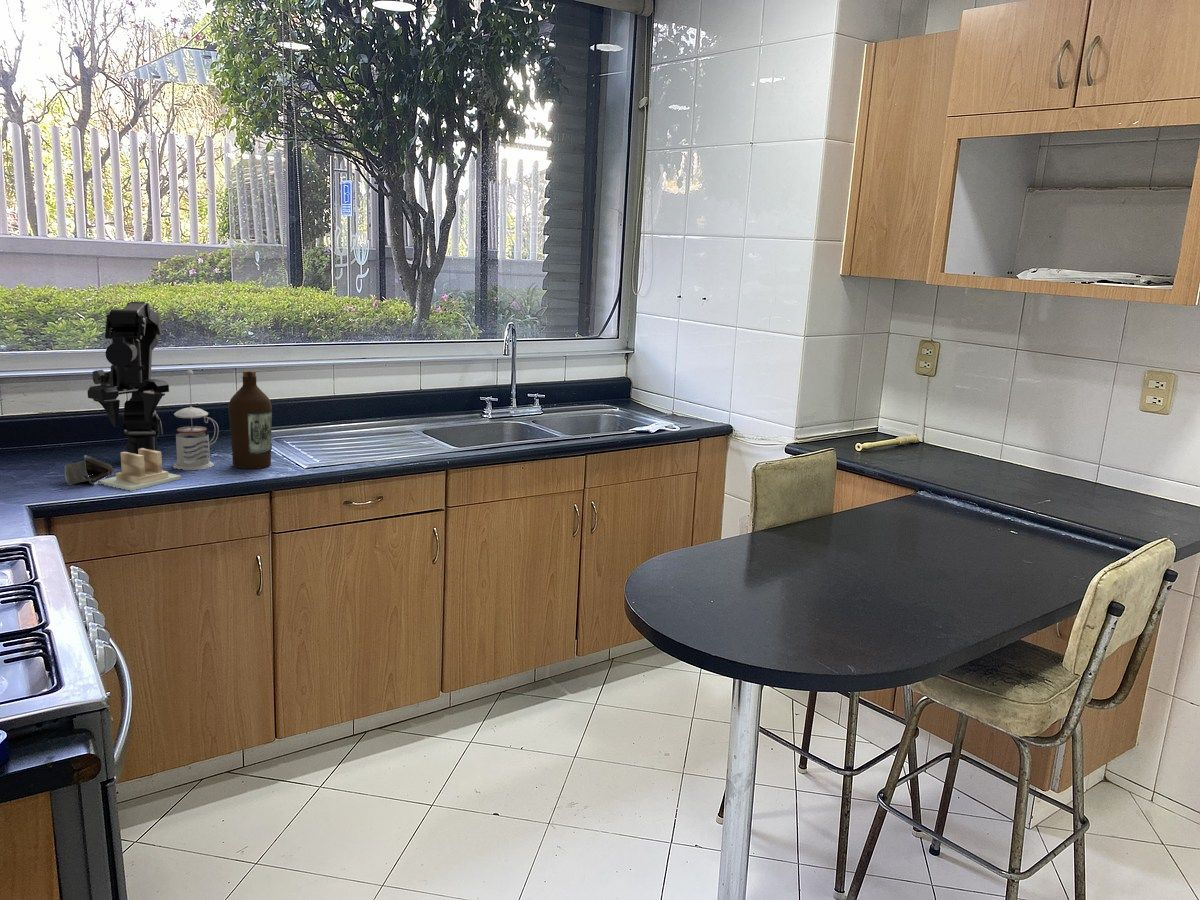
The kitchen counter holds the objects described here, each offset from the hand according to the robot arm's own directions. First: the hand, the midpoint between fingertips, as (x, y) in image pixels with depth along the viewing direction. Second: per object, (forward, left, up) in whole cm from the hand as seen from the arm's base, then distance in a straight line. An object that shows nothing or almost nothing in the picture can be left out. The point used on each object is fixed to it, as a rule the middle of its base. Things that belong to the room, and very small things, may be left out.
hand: (131, 423), depth 222 cm
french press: (-13, +7, -12) cm, 19 cm away
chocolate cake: (+12, -1, -12) cm, 17 cm away
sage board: (+6, +9, -12) cm, 16 cm away
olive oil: (-21, +18, -12) cm, 30 cm away
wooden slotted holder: (+6, +10, -11) cm, 16 cm away
